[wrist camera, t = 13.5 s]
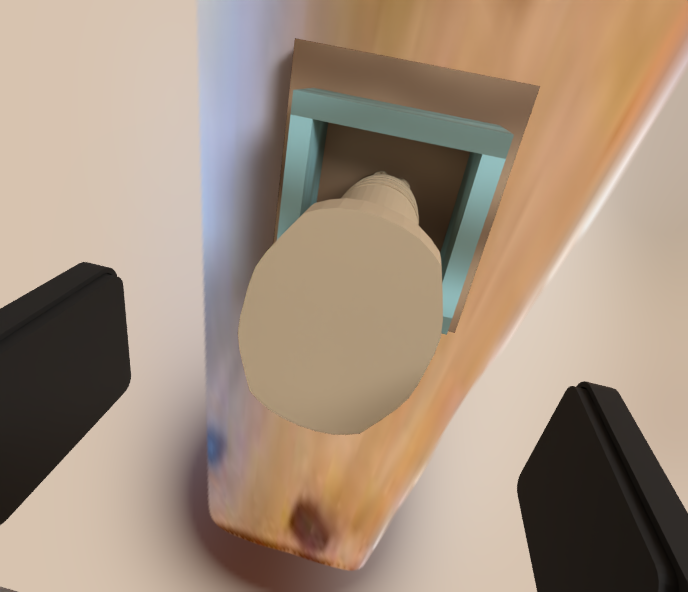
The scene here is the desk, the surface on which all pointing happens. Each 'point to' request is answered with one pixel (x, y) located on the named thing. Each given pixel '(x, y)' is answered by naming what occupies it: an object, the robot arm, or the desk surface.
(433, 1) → the desk surface
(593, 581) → the robot arm
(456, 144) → the teal open box
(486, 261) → the desk surface
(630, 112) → the desk surface
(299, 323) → the handle
